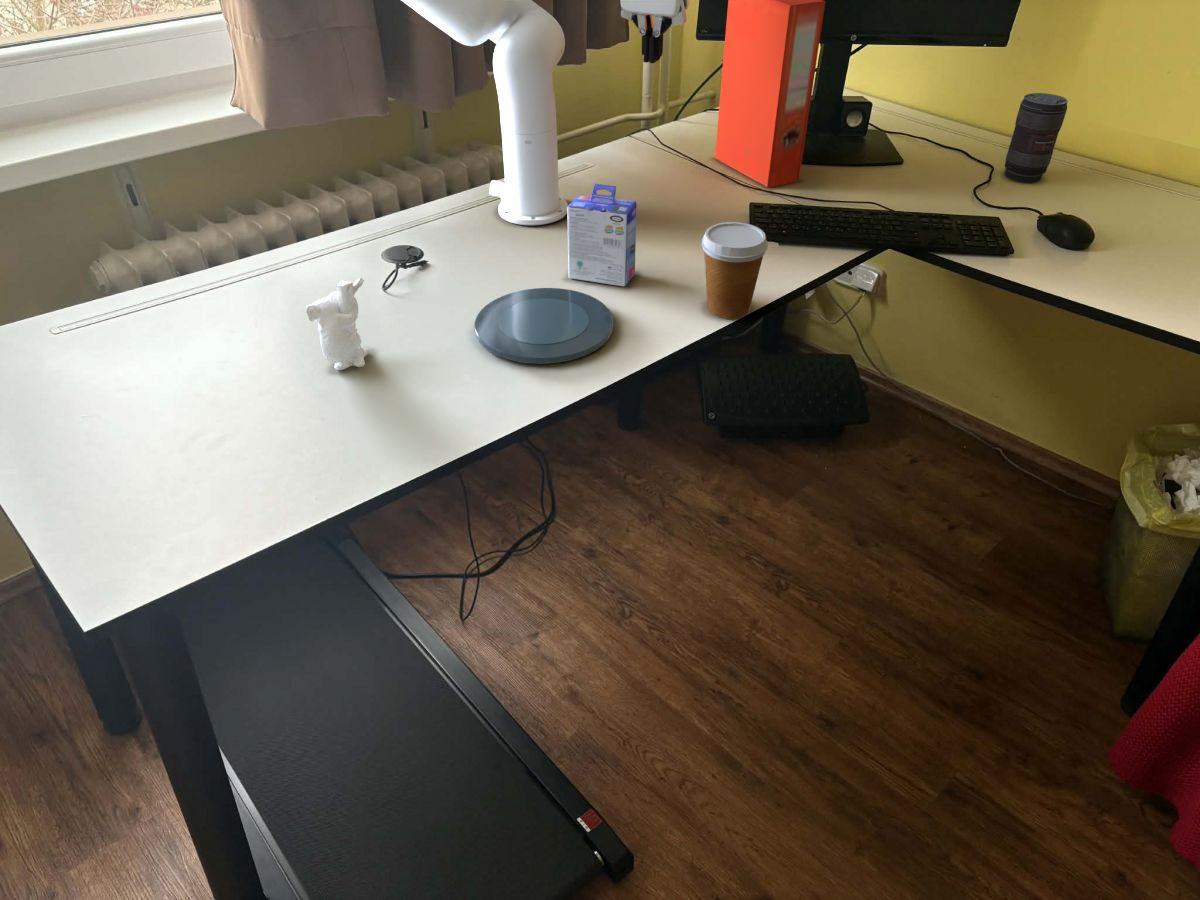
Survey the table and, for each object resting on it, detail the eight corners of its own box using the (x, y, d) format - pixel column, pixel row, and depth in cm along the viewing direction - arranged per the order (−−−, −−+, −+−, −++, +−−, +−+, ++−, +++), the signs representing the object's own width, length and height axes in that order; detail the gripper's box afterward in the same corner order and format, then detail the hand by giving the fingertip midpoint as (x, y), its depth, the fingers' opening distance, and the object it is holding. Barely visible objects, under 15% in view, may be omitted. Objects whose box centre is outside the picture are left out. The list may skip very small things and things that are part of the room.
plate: (448, 346, 127) (447, 337, 126) (519, 285, 141) (519, 276, 140) (573, 381, 120) (573, 371, 119) (635, 313, 134) (635, 304, 133)
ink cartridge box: (636, 272, 145) (639, 185, 136) (626, 288, 141) (628, 199, 132) (579, 264, 147) (577, 178, 138) (567, 279, 143) (565, 191, 134)
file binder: (746, 152, 186) (763, -19, 166) (800, 180, 175) (825, 0, 155) (714, 159, 183) (728, -14, 163) (767, 188, 171) (788, 5, 152)
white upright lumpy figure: (370, 343, 128) (355, 266, 121) (387, 365, 124) (373, 287, 116) (311, 360, 125) (293, 282, 117) (327, 383, 120) (308, 304, 113)
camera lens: (1048, 174, 176) (1073, 95, 167) (1039, 188, 171) (1065, 107, 162) (1006, 166, 180) (1028, 88, 171) (996, 179, 174) (1018, 100, 165)
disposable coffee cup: (719, 330, 130) (726, 254, 123) (684, 302, 137) (689, 228, 130) (773, 315, 134) (782, 240, 126) (736, 288, 140) (744, 215, 133)
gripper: (712, -71, 132) (704, 60, 144) (621, -78, 138) (620, 49, 149) (693, -63, 127) (686, 73, 138) (599, -70, 132) (599, 61, 144)
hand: (651, 60), depth 144 cm, fingers closed
